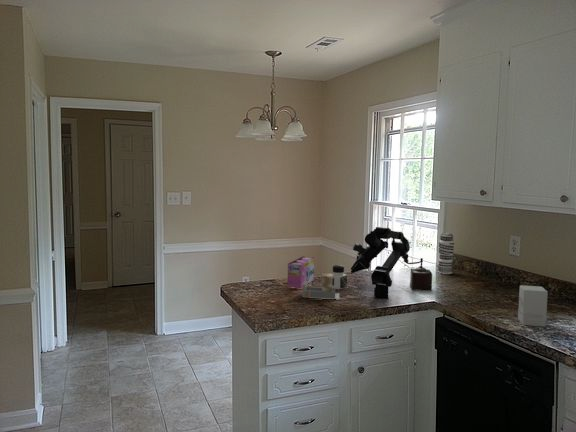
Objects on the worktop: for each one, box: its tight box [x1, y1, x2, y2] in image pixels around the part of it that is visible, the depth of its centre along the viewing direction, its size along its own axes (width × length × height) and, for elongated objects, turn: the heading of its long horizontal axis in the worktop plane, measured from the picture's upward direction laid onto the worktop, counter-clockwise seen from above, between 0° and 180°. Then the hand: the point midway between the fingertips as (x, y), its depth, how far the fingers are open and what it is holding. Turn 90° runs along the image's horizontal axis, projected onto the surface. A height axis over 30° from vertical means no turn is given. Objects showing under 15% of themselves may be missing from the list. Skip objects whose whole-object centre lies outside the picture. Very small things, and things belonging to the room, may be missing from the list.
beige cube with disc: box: [321, 273, 334, 291], centre depth 232 cm, size 6×6×10 cm
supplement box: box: [517, 285, 549, 328], centre depth 196 cm, size 9×9×15 cm
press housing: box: [301, 281, 340, 301], centre depth 233 cm, size 18×10×7 cm, turn 83°
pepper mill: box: [401, 253, 433, 291], centre depth 253 cm, size 16×11×18 cm
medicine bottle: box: [332, 264, 348, 290], centre depth 251 cm, size 7×7×12 cm
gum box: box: [287, 256, 315, 289], centre depth 258 cm, size 24×8×14 cm, turn 158°
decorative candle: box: [437, 232, 455, 275], centre depth 291 cm, size 9×9×25 cm
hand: (351, 271), depth 230 cm, fingers open, 6 cm apart
